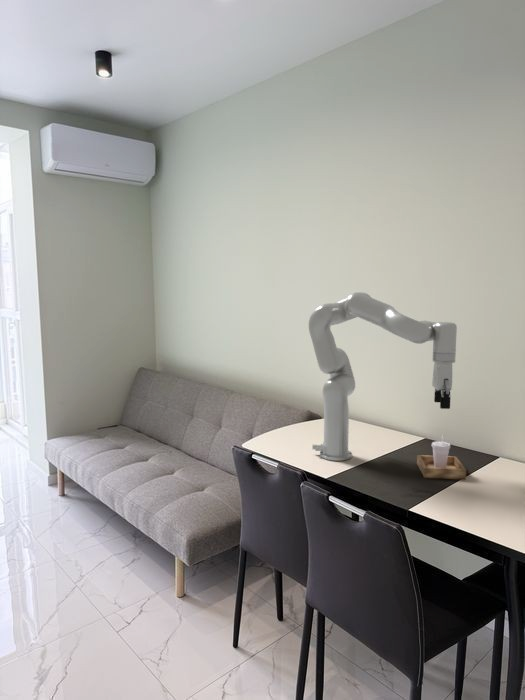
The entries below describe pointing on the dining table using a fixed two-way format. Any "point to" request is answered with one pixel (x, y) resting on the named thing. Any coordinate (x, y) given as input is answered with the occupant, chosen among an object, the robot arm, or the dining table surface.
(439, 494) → the dining table surface
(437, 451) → the smoothie
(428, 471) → the box
